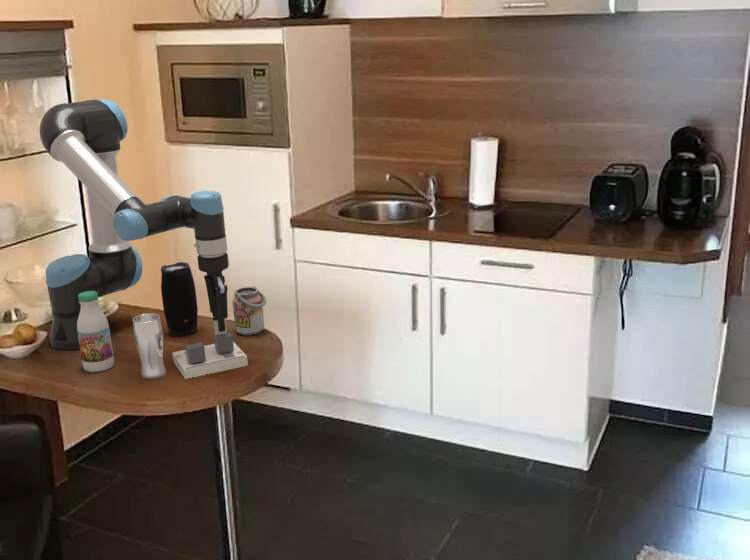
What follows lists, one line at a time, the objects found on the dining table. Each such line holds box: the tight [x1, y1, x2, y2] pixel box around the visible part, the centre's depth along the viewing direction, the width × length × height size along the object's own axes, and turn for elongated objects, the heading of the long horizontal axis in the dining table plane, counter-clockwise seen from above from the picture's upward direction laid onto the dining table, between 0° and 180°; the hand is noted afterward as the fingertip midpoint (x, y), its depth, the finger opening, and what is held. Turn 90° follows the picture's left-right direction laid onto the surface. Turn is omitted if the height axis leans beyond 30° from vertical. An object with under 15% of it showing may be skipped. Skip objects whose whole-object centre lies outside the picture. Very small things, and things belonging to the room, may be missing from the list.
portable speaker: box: [160, 261, 198, 338], centre depth 232 cm, size 9×9×20 cm
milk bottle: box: [77, 291, 115, 373], centre depth 211 cm, size 8×8×20 cm
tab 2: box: [213, 332, 234, 354], centre depth 212 cm, size 3×4×4 cm
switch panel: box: [171, 341, 249, 380], centre depth 212 cm, size 13×16×3 cm
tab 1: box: [184, 341, 206, 364], centre depth 207 cm, size 3×4×4 cm
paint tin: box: [232, 285, 267, 336], centre depth 232 cm, size 9×8×12 cm
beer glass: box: [132, 312, 167, 380], centre depth 206 cm, size 7×7×15 cm
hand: (222, 341), depth 214 cm, fingers closed
